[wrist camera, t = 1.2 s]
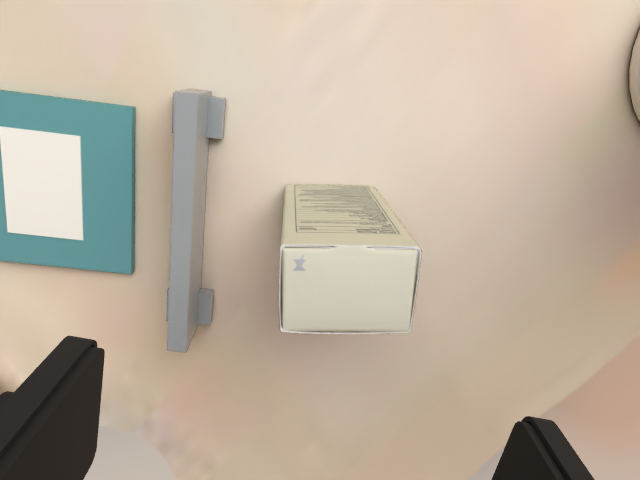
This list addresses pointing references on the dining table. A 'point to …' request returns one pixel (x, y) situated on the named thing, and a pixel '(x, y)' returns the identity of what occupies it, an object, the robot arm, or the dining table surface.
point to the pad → (67, 182)
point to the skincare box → (345, 263)
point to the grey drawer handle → (190, 212)
